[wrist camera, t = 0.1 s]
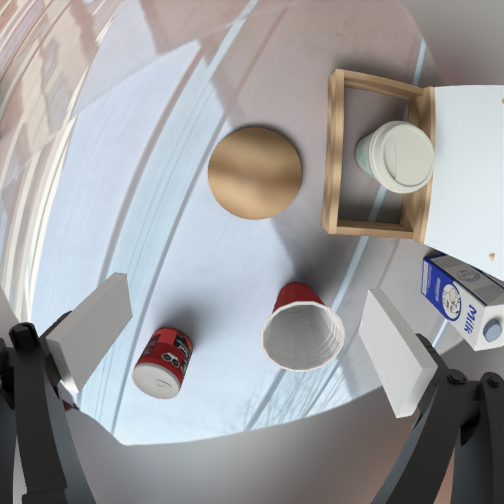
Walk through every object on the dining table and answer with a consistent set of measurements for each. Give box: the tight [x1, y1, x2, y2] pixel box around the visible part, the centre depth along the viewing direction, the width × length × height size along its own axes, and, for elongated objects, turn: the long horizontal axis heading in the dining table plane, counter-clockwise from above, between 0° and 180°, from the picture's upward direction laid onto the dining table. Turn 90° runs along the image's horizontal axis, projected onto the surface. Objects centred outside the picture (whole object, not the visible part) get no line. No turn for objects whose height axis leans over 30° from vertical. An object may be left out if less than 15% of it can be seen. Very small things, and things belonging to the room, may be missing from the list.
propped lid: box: [424, 85, 504, 281], centre depth 28 cm, size 22×5×20 cm, turn 178°
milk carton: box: [421, 253, 504, 351], centre depth 34 cm, size 7×7×20 cm
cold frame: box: [321, 69, 436, 244], centre depth 35 cm, size 22×14×7 cm, turn 178°
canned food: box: [132, 328, 192, 399], centre depth 44 cm, size 8×8×11 cm
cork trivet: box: [208, 127, 302, 220], centre depth 39 cm, size 13×13×1 cm
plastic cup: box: [260, 282, 345, 372], centre depth 40 cm, size 11×11×12 cm
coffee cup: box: [354, 121, 435, 193], centre depth 32 cm, size 8×8×12 cm
